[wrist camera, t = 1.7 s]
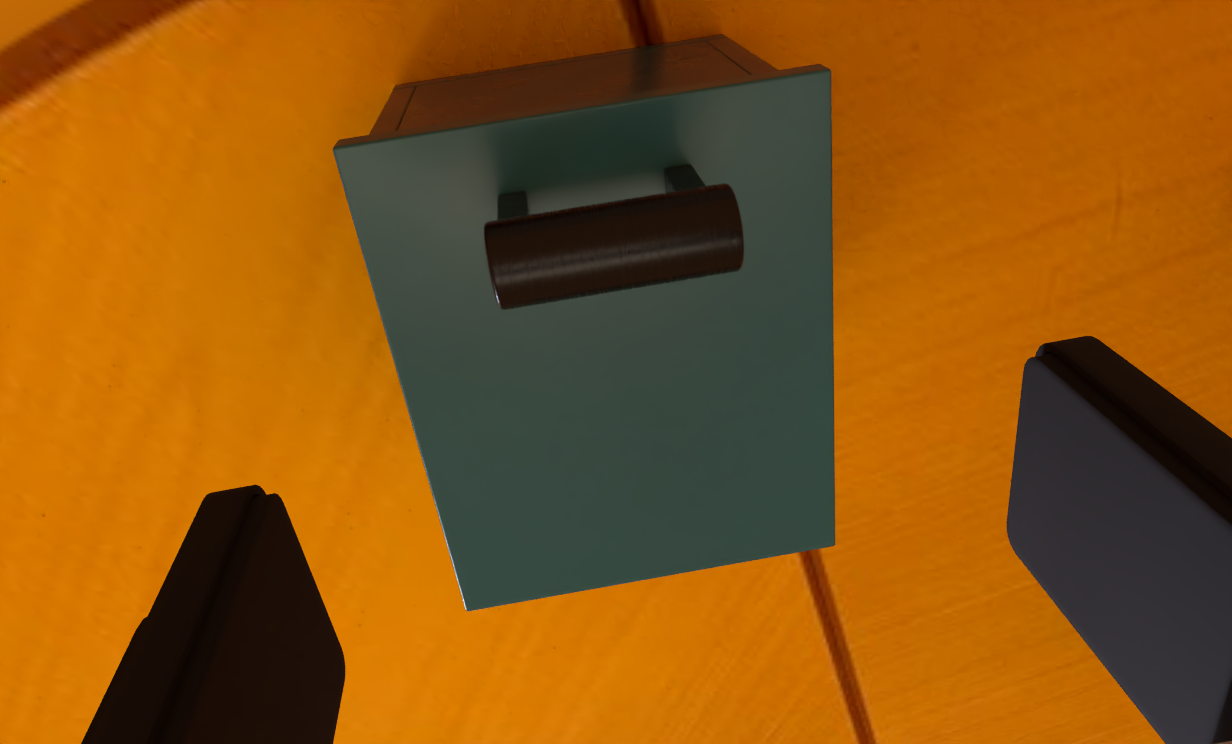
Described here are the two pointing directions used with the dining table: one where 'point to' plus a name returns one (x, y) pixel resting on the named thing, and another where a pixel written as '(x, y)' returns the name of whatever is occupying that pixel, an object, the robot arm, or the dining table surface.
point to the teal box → (566, 82)
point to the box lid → (613, 328)
